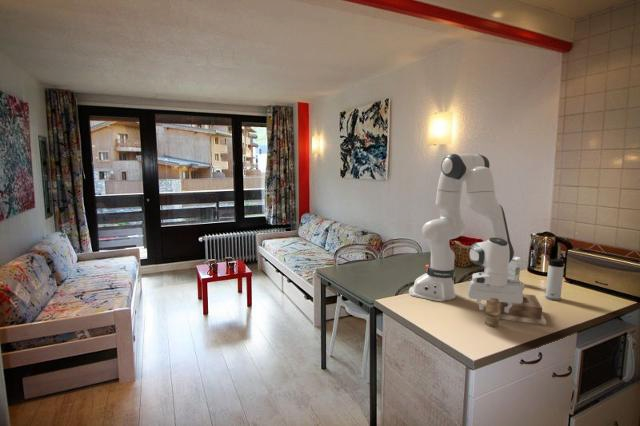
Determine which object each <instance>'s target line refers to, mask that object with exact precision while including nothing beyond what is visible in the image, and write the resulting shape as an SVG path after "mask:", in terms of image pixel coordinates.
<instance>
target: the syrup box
mask: <svg viewBox="0 0 640 426" xmlns="http://www.w3.org/2000/svg"><path fill="white" fill-rule="evenodd" d="M521 263H522V258H521V257H519V256H515V255H514V257H513V259H512V260H511V262H510V263H509V264H508V279H509V280H519V281H520V272H521Z"/></svg>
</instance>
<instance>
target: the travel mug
mask: <svg viewBox="0 0 640 426" xmlns="http://www.w3.org/2000/svg"><path fill="white" fill-rule="evenodd" d="M564 266H565V260H564V259H560V258H552V259H550V258H549V260H548V267H547V277H546V286H545V298H546V299H547V300H550V301H554V302H555V301H557V302H558V301H560V300H561V298H562V297H561V296H562V286H563V278H564V277H563V276H564V270H565V269H564V268H565V267H564Z"/></svg>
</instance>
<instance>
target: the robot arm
mask: <svg viewBox="0 0 640 426" xmlns="http://www.w3.org/2000/svg"><path fill="white" fill-rule="evenodd" d="M440 167H441V169H440V170H441V172H440V176H439V178H438V184H437V188H436V197H435V207H436V208H437V209H438V211H439V218H436V219H435V218H434V219H431V220H430V221H427V222H425V223H424V225H422V227H421V228H422V229H421V232H422V236H423V238H424V239H425V240H426V241H427V243H428V245H429V249H430V250H429V251H430V265H429V264H426V265H425V273H424V274H422V275H420V276H419V277H418V276H417V278H416V279H415V281H414V284H413V285H412V286H410V288H409V290H408V293H409V295H410V296H412V297H416V298H421V299H424V300H425V299H426V300H431V301H436V302H445V301H450V300H454V299H455V298H456V292H455V284H454V282H455V274H456V271H455V252H454V251H453V250H452V249H451V246H450V240H453V239H457V238H459V237H461V236H462V235H463V234H464V233H465V232H466V223H465V221H464V220H463V219H462V215H461V208H460V207H461V198H462V191H463V183H464V181H465V183H466V184H465V185H466V202H467V205H468V207H469V208H470V210H471V211H473V212H474V213H476V214H478V215H482V216H484V217H486V218H487V219H489V221H490V222H491V224H492V227H493V234H494V237H490V238H488V239H487V240H484V241H480V242H474V243H472V244H471V245H470V247H469V250H468V257H469V259H470V261H471V262H472V263H473V264H474V265H477V266H484V271H481V272H480V271H479V272H476V273H475V272H474V273H472V275H471V280H470V282H469V285H468V289H467V290H468V291H467V296H468V298H469V299H471V300H476V302H477V304H478V305H479V306H478V307H479V308H478V310H480V311H484V304H482V303H481V301H487V300H488V301H489V300H490V298H495V299H498V301H499V302H506V303H508V306H507V307H504V312H505V313H509V309H510V308H511V307H512V304H513V303H516V304H521V303H522V302H523V294H524V292H523V291H524V290H525V284H524V283H525V282H523V281H521V280H520V279H519V280H509V279H508V264H509V263H510V262H511V260H512V259H513V257H514V256H515V251H514V247H513V245H512V242H511V239H510V234H509V229H508V224H507V219H506V214H505V211H504V207H503V206H502V205H501V204H499V202H498V199H497V197H496V188H495V187H496V186H495V181H494V177H493V172H492V170H491V169H490V161H489V159H488V157H486V156H485V155H482V154H480V153H477V154H474V153H469V152H468V153H466V152H465V153H457V154H456V153H451V154H448V155H446V156H445V157H444V158H443V159H442V161H441V166H440Z"/></svg>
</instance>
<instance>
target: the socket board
mask: <svg viewBox="0 0 640 426" xmlns="http://www.w3.org/2000/svg"><path fill="white" fill-rule="evenodd" d="M507 306H508V303H506V302H500V311H499V314H500V315H499V319H500V320H506V321H514V322H520V323H521V322H522V323H529V324H537V325H543V326H546V325H547V320H546V319H545V317H544V315H543V307H542V305H541V303H540V302H539V299H538V298H537V296H536V295H534V294H526V293H523V302H522V303H521V304H516V303H513V304H512V307H511V308H510V309H509V313H505V312H504V307H507Z"/></svg>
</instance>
